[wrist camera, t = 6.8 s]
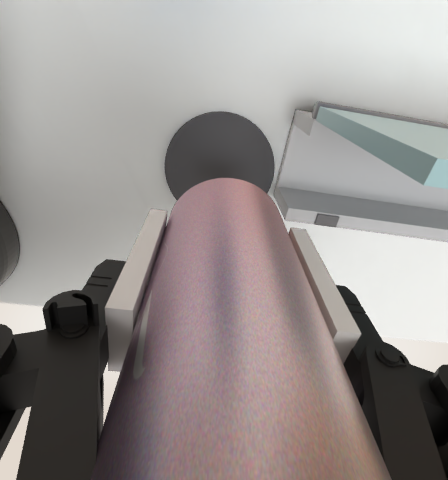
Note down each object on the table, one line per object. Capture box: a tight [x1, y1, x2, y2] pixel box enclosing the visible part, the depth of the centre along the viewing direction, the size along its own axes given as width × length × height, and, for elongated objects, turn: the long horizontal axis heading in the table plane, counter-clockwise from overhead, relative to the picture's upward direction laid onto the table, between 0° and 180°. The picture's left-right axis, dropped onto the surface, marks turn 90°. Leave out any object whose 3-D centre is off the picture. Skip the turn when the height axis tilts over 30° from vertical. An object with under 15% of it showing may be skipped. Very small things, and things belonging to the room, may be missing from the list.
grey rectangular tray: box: [274, 109, 448, 242], centre depth 23 cm, size 20×7×5 cm, turn 81°
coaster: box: [165, 112, 274, 201], centre depth 25 cm, size 9×9×1 cm
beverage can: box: [91, 178, 392, 480], centre depth 10 cm, size 6×6×15 cm
